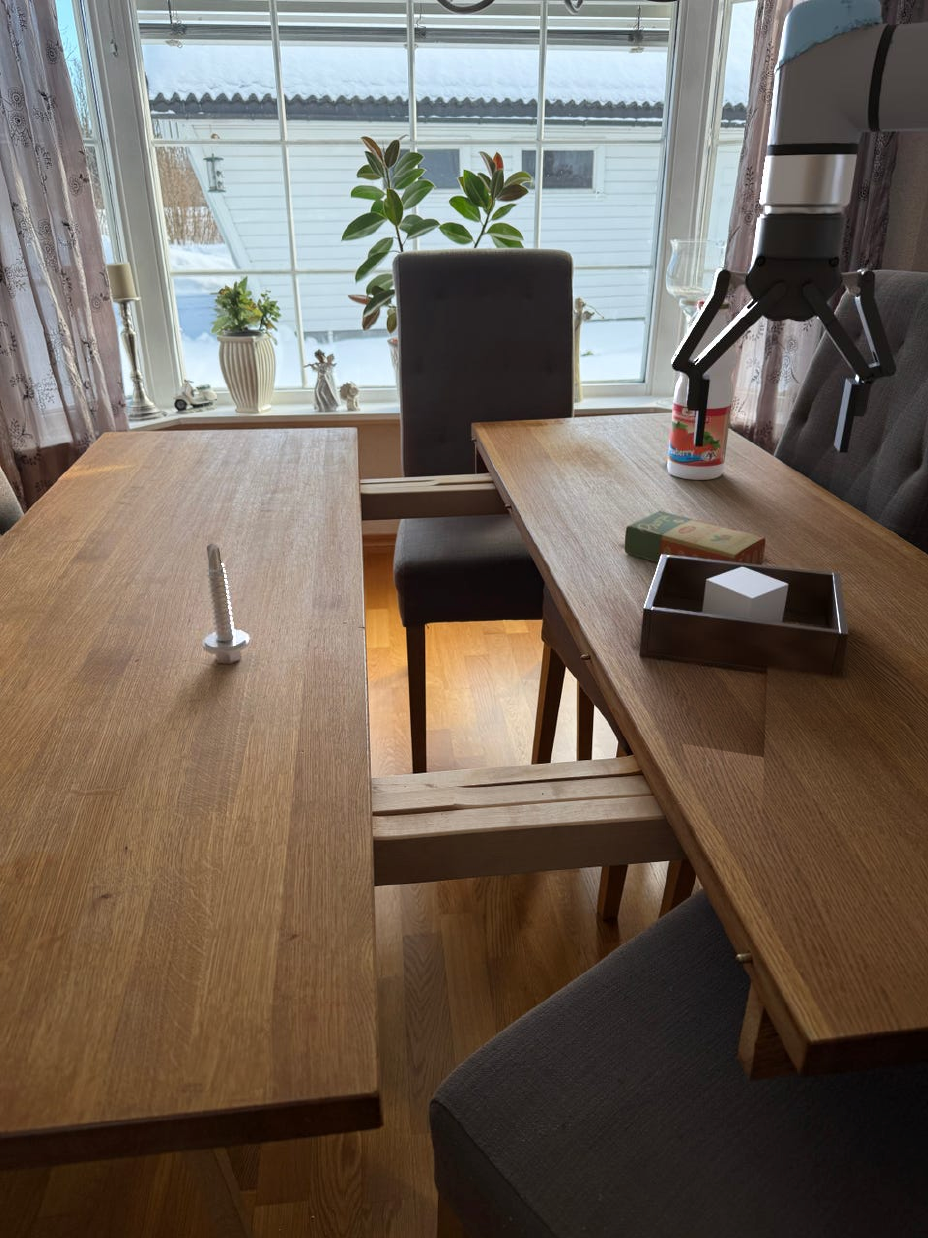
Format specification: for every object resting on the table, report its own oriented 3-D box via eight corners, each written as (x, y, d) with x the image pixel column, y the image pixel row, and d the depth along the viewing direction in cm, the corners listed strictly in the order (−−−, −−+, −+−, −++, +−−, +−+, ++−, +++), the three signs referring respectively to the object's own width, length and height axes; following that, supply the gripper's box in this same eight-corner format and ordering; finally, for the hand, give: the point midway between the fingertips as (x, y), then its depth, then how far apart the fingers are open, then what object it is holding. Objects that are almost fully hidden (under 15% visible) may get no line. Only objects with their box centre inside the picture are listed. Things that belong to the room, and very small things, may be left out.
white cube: (744, 650, 93) (751, 598, 90) (700, 629, 97) (705, 579, 95) (780, 634, 96) (788, 583, 93) (735, 615, 100) (742, 566, 98)
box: (831, 618, 101) (840, 573, 98) (838, 684, 87) (848, 634, 85) (657, 597, 106) (661, 553, 104) (639, 656, 93) (643, 608, 90)
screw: (242, 670, 91) (197, 668, 91) (258, 648, 95) (215, 646, 96) (226, 553, 85) (178, 551, 86) (244, 535, 89) (198, 533, 90)
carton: (730, 586, 109) (735, 554, 107) (622, 553, 119) (624, 523, 117) (762, 566, 114) (767, 535, 112) (656, 536, 124) (658, 507, 122)
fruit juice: (733, 473, 151) (756, 300, 139) (702, 484, 146) (723, 305, 133) (687, 462, 158) (705, 295, 145) (655, 472, 152) (671, 300, 140)
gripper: (941, 208, 80) (893, 441, 89) (659, 209, 84) (641, 431, 93) (967, 211, 73) (912, 462, 82) (659, 212, 77) (640, 450, 87)
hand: (768, 446), depth 88 cm, fingers open, 13 cm apart
